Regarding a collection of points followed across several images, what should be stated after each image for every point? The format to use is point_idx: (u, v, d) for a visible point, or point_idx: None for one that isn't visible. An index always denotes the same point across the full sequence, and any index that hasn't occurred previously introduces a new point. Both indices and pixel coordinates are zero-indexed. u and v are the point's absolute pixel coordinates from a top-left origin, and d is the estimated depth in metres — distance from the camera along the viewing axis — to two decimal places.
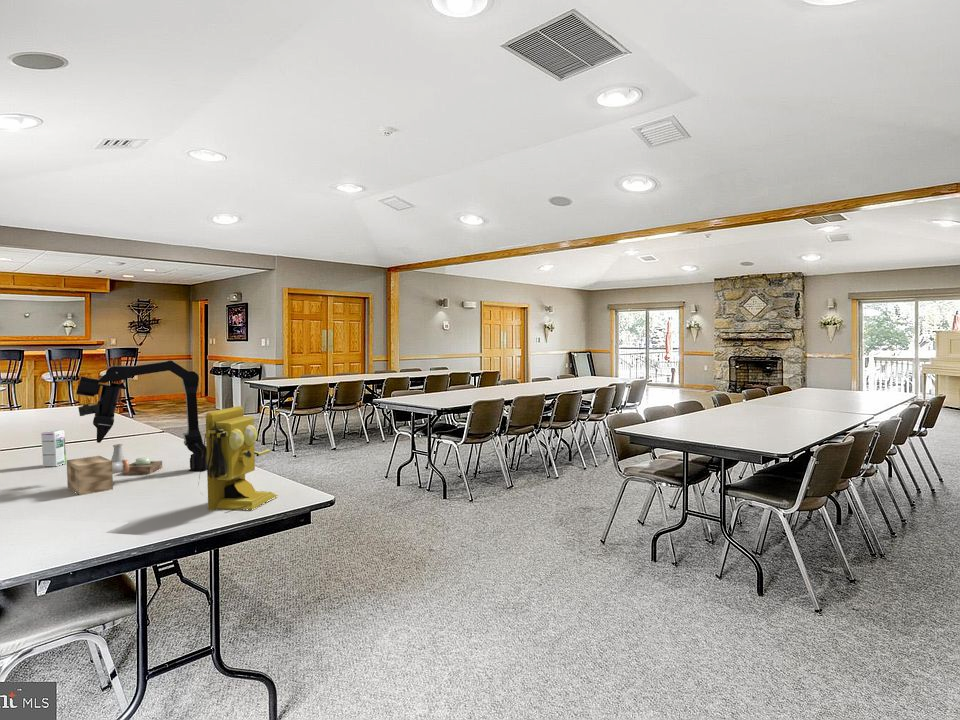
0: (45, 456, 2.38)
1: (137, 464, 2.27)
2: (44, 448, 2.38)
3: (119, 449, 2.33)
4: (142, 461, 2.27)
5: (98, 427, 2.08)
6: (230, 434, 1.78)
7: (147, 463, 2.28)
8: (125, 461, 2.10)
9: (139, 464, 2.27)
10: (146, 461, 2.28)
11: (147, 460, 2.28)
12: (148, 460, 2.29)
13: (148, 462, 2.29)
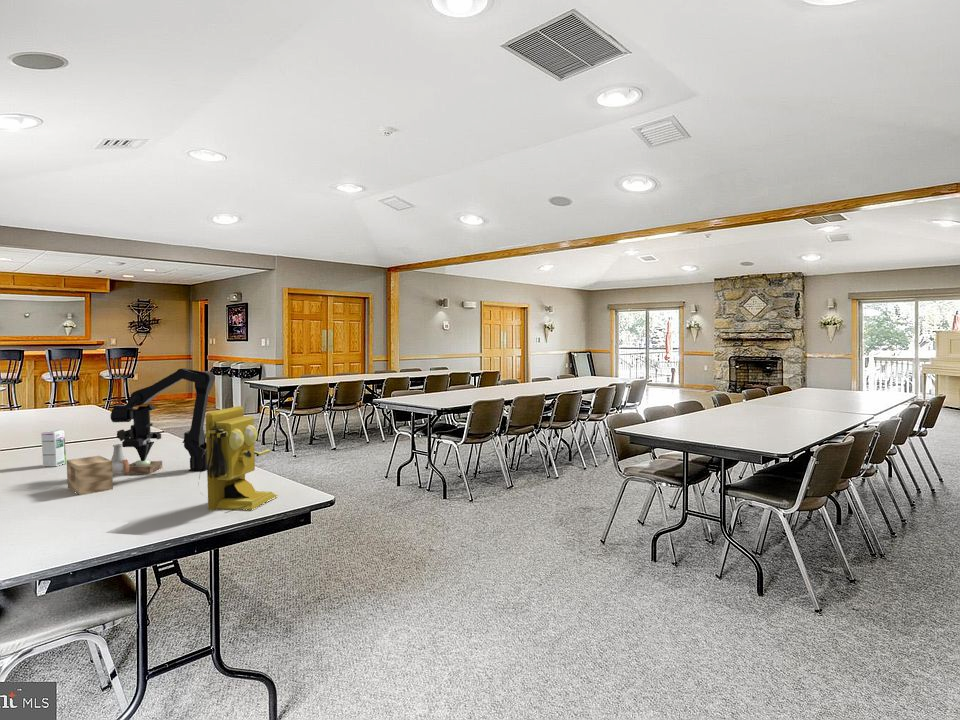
0: (45, 456, 2.38)
1: None
2: (44, 448, 2.38)
3: (119, 449, 2.33)
4: (142, 463, 2.27)
5: (137, 447, 2.27)
6: (230, 434, 1.78)
7: None
8: (125, 461, 2.10)
9: None
10: (146, 463, 2.28)
11: (147, 462, 2.28)
12: (148, 462, 2.29)
13: (148, 464, 2.29)
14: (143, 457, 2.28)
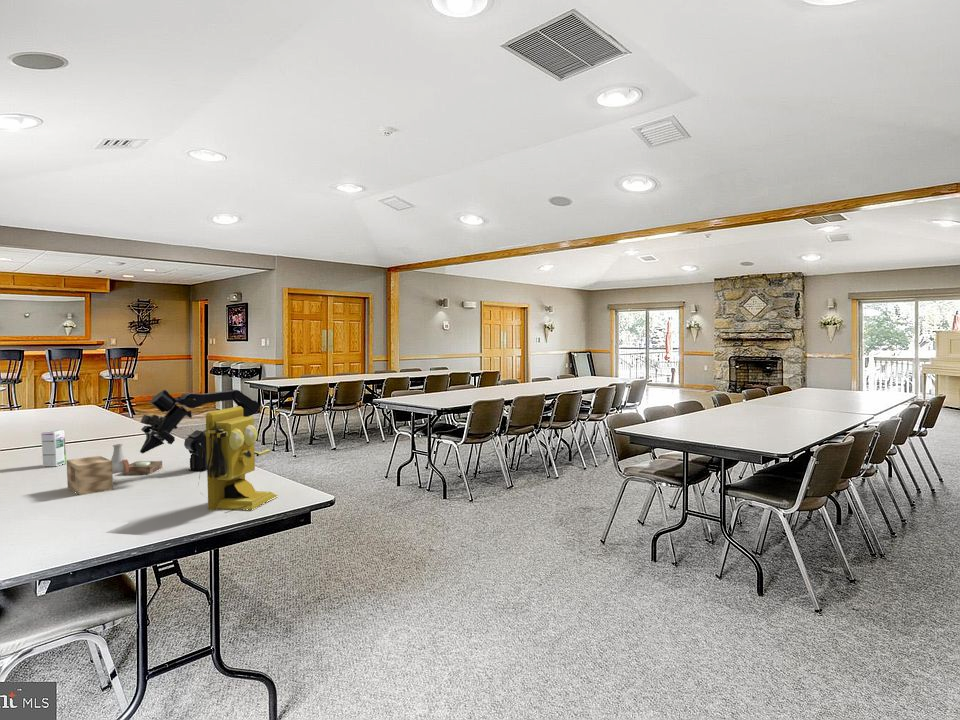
0: (45, 456, 2.38)
1: None
2: (44, 448, 2.38)
3: (119, 449, 2.33)
4: None
5: (152, 439, 2.16)
6: (230, 434, 1.78)
7: None
8: (125, 461, 2.10)
9: None
10: None
11: (147, 464, 2.28)
12: (148, 464, 2.29)
13: None
14: (146, 450, 2.16)
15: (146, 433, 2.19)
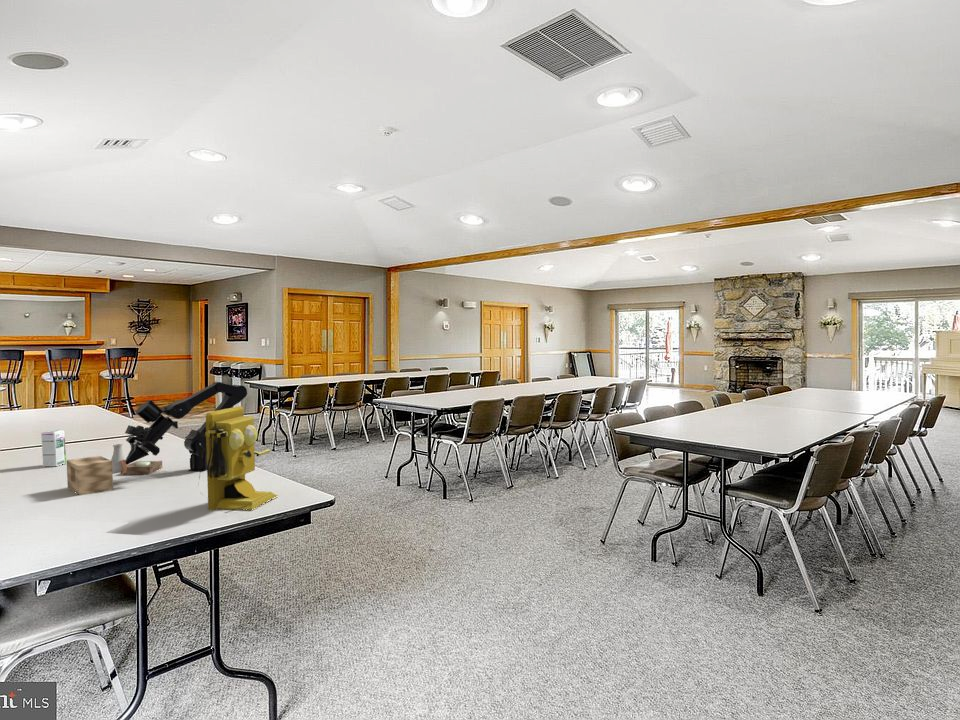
0: (45, 456, 2.38)
1: None
2: (44, 448, 2.38)
3: (119, 449, 2.33)
4: None
5: (136, 450, 2.13)
6: (230, 434, 1.78)
7: None
8: (123, 461, 2.10)
9: None
10: None
11: (147, 464, 2.28)
12: (148, 464, 2.29)
13: None
14: (130, 461, 2.12)
15: (131, 444, 2.15)
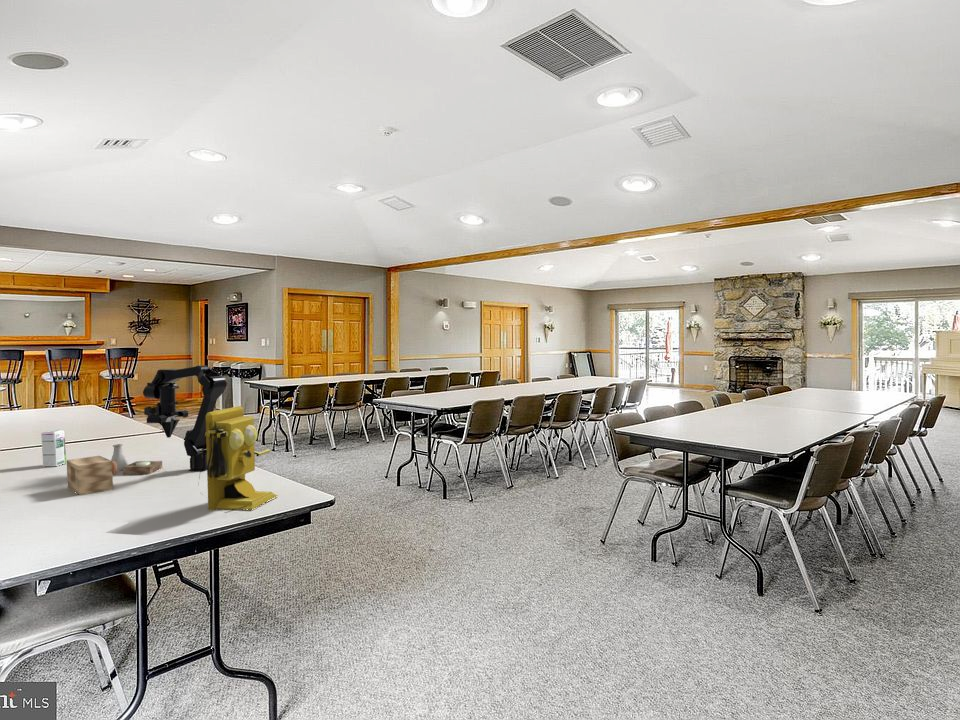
0: (45, 456, 2.38)
1: None
2: (44, 448, 2.38)
3: (119, 449, 2.33)
4: None
5: (162, 424, 2.35)
6: (230, 434, 1.78)
7: None
8: (113, 463, 2.08)
9: None
10: None
11: (147, 464, 2.28)
12: (148, 464, 2.29)
13: None
14: (168, 434, 2.36)
15: None
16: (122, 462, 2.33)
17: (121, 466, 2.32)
